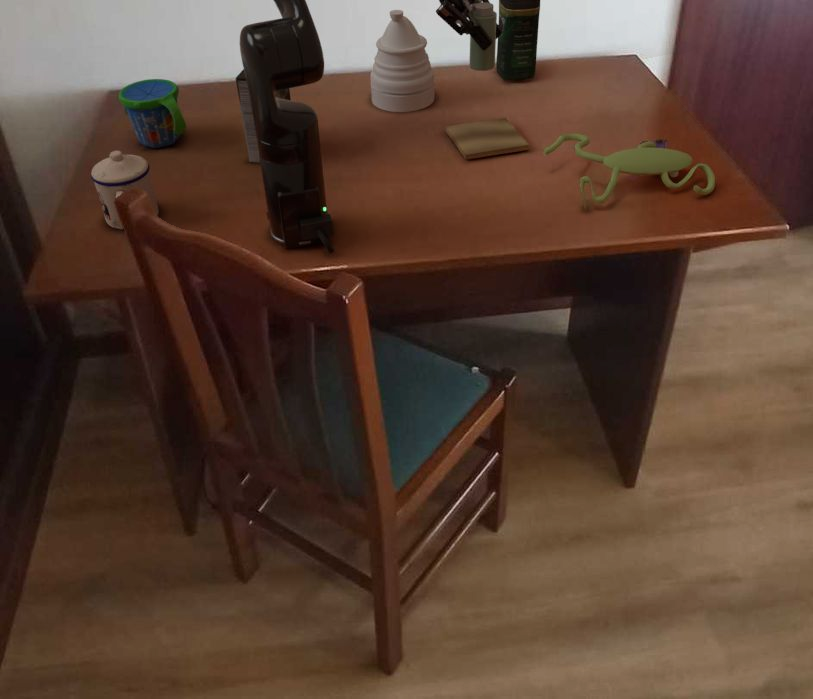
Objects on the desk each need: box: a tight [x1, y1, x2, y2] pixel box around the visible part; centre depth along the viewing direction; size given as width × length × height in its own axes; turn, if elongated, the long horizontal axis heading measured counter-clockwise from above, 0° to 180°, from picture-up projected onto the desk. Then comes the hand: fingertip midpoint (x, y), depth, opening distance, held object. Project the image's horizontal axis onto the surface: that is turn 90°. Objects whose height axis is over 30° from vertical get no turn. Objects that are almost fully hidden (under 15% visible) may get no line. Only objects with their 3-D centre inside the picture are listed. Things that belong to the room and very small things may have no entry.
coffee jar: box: [495, 0, 541, 83], centre depth 179 cm, size 10×8×19 cm
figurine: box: [543, 133, 716, 211], centre depth 147 cm, size 18×27×6 cm
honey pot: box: [369, 9, 435, 113], centre depth 171 cm, size 13×13×18 cm
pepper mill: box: [469, 2, 498, 72], centre depth 149 cm, size 4×4×10 cm
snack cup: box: [118, 78, 187, 149], centre depth 163 cm, size 16×10×10 cm
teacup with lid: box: [90, 150, 159, 231], centre depth 139 cm, size 12×9×12 cm
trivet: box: [445, 117, 530, 160], centre depth 160 cm, size 12×12×1 cm
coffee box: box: [235, 68, 292, 164], centre depth 155 cm, size 9×6×16 cm
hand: (493, 41), depth 148 cm, fingers closed on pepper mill, 4 cm apart
